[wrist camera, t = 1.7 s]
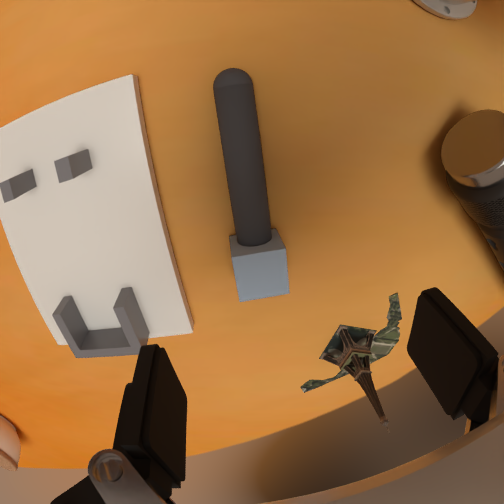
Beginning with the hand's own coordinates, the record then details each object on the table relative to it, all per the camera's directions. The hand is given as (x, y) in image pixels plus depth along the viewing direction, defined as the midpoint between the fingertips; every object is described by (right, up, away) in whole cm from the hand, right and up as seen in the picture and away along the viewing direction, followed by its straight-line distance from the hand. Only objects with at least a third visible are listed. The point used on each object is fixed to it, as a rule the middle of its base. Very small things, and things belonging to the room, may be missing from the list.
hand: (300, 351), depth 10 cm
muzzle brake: (+27, +8, +18) cm, 34 cm away
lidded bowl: (-53, -31, +28) cm, 67 cm away
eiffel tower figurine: (+9, -8, +24) cm, 27 cm away
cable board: (-17, +5, +14) cm, 22 cm away
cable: (-2, +9, +14) cm, 17 cm away
